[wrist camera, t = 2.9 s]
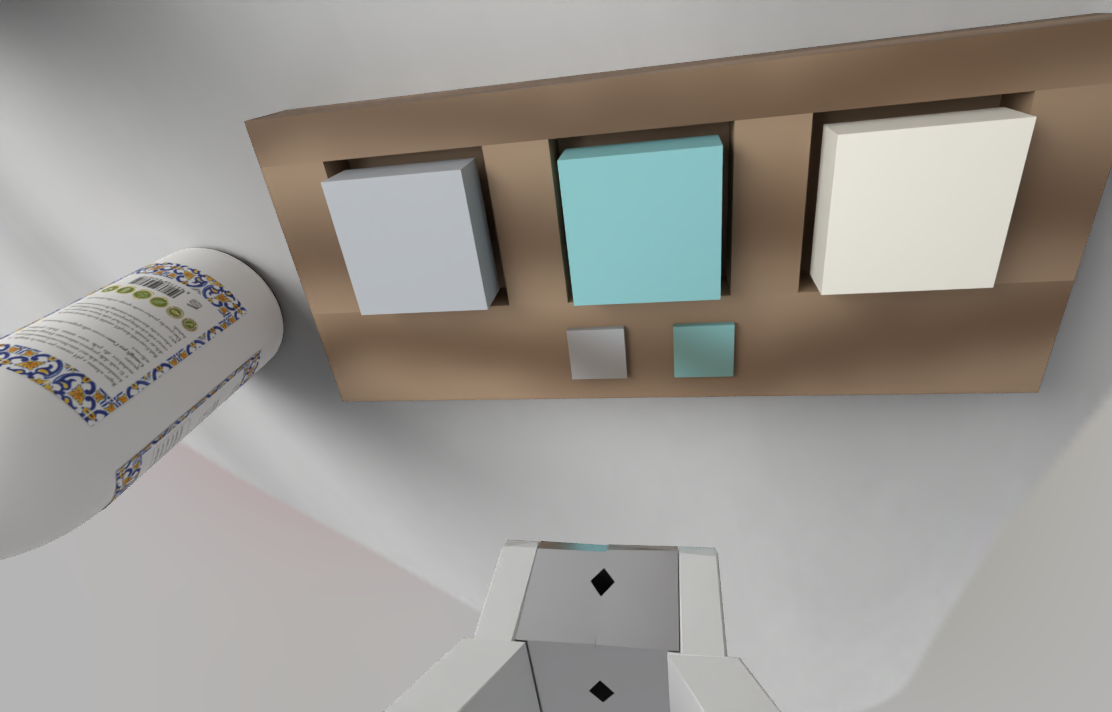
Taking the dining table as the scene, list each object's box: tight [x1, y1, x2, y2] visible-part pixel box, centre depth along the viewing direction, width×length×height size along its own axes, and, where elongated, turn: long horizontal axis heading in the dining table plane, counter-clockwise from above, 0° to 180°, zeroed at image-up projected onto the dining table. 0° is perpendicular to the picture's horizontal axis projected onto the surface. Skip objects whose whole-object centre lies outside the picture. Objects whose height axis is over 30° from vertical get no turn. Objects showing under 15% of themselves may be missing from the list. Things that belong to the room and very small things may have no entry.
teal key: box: [557, 134, 723, 306], centre depth 22 cm, size 6×6×2 cm
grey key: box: [321, 158, 499, 315], centre depth 24 cm, size 6×6×2 cm
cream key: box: [810, 107, 1037, 295], centre depth 20 cm, size 6×6×2 cm
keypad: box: [244, 13, 1112, 401], centre depth 24 cm, size 13×30×3 cm, turn 97°
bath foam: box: [0, 248, 283, 560], centre depth 23 cm, size 7×7×20 cm
